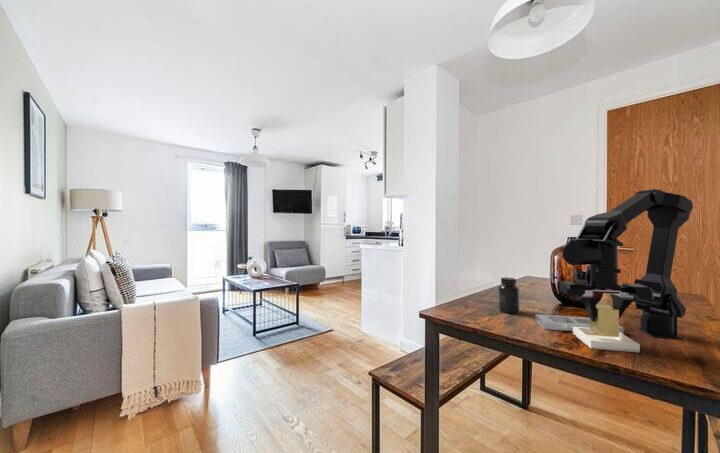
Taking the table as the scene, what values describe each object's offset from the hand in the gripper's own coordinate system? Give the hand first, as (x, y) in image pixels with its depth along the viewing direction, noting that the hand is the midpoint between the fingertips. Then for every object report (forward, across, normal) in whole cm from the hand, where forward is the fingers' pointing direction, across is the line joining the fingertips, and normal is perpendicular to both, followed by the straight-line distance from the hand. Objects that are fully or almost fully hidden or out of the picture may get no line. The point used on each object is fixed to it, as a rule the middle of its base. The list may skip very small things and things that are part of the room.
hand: (603, 321), depth 77 cm
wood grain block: (+3, 0, 0) cm, 3 cm away
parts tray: (+6, 0, 0) cm, 6 cm away
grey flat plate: (+6, +2, -11) cm, 12 cm away
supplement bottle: (+6, +18, -24) cm, 31 cm away
